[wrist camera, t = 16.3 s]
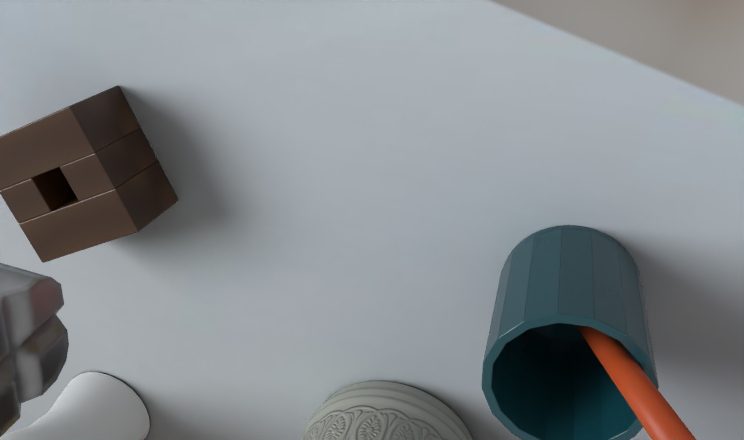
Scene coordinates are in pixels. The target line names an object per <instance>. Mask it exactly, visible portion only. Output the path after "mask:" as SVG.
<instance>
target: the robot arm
mask: <svg viewBox="0 0 744 440" xmlns="http://www.w3.org/2000/svg"><path fill="white" fill-rule="evenodd" d="M63 305H64V301H63V295H62V289H61V284H60V283H58V282H57V281H56V280H54V279H53V278H51V277H48V276H44V275H41V274H37V273H34V272H30V271H27V270H23V269H20V268H16V267H13V266H9V265H6V264H2V263H0V437H1V436H2V435H3V434H4V433H5V432H6V431H7V430H8V429H9V428H10V427H11V426H12V425H13V424H14V423H15V422H16V421H17V420H18V419H19V418H20V412H21V403H23V402H25V401H28V400H30V399H33V398H36V397H38V396H41V395H43V394H44V393H45V392H46V391H47V389H48V388H49V387H50V386H51V385H52V384H53V383H54V382H55V381H56V380H57V378H58V376H59V374H60V372H61V370H62V368H63V366H64V364H65V362H66V358H67V352H68V346H69V343H68V333H67V329H66V328H65V326H64V325H63V324H62V322H61V321H60V320H59V318H58V317H57V315H56V314H57V312H58V311H59V310H60V309H61V307H62V306H63ZM673 440H676V439H673Z"/></svg>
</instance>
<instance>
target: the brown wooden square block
mask: <svg viewBox="0 0 744 440" xmlns="http://www.w3.org/2000/svg"><path fill="white" fill-rule="evenodd" d="M0 194H1V195H2V197H3V199H4V200H5V202H6V204H7V205H8V207H9V209H10V210H11V212H12V213H13V215H14V217H15V218H16V220H17V222H18V223H20V224H19V225H20V227H21V228H22V230H23V231H24V233H25V235H26V236H27V238H28V240H29V241H30V243H31V245H32V246H33V248H34V250H35V251H36V253H37V254H38V256H39V258H40V259H41V261H42V262H47V261H50V260H53V259H56V258H59V257H62V256H65V255H68V254H71V253H74V252H78V251H81V250H84V249H87V248H90V247H93V246H96V245H99V244H102V243H105V242H108V241H111V240H114V239H117V238H120V237H123V236H127V235H130V234H133V233H136V232H139V231H140V230H141V229H143V228H144V227H145V226H146V225H148V224H149V223H150V222H151V221H153V220H154V219H155V218H157V217H158V216H159V215H160V214H162V213H163V212H164V211H165V210H167V209H168V208H169V207H171V206H172V205H173V204H174V203H176V202H177V201H178V198H177V196H176V195H175V193H174V191H173V189H172V187H171V185H170V183H169V181H168V179H167V177H166V176H165V174H164V172H163V170H162V168H161V166H160V164H159V162H158V161H157V158H156V156H155V154H154V152H153V150H152V149H151V147H150V145H149V143H148V141H147V139H146V137H145V135H144V133H143V131H142V130H141V128H140V126H139V124H138V122H137V120H136V118H135V116H134V114H133V112H132V110H131V109H130V107H129V105H128V103H127V101H126V99H125V97H124V95H123V93H122V91H121V89H120V88H119V86H115V87H113V88H110V89H108V90H106V91H103V92H101V93H99V94H96V95H94V96H92V97H90V98H87V99H85V100H83V101H80V102H78V103H76V104H73V105H71V106H69V107H66V108H64V109H62V110H60V111H57V112H55V113H53V114H50V115H48V116H46V117H43V118H41V119H39V120H37V121H34V122H32V123H30V124H27V125H25V126H23V127H21V128H18V129H16V130H14V131H11V132H9V133H7V134H5V135H2V136H0Z"/></svg>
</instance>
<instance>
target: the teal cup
mask: <svg viewBox="0 0 744 440" xmlns="http://www.w3.org/2000/svg"><path fill="white" fill-rule="evenodd" d="M576 325H580V326H587V327H592V328H594V329H596V330H598V331H600V332H602V333H604V334H606V335H609V336H611V337H613V338H615V339H617V340H619V341H620V342H621V343H622V344H623V345H624V347H625V348H626V349H627V351H628V352H629V353H630V354H631V356H632V357H633V358H634V360H635V361H636V362H637V363H638V365H639V366H640V367H641V369H642V370H643V371H644V373H645V374H646V375H647V376H648V378H649V379H650V380H651V382H652V383H653V384H654V386H655V387H656V388H657V389H658V388H659V385H658V379H657V373H656V366H655V360H654V354H653V348H652V341H651V335H650V329H649V323H648V317H647V310H646V304H645V298H644V292H643V286H642V283H641V280H640V275H639V271H638V268H637V266H636V263H635V262H634V260H633V258H632V257H631V255H630V254H629V253H628V251H627V250H626V249H625V248H624V247H623V246H622V245H621V244H620V243H618V242H617V241H616V240H614V239H613V238H611V237H610V236H608V235H606V234H604V233H602V232H599V231H597V230H594V229H591V228H587V227H581V226H570V225H565V226H556V227H550V228H547V229H544V230H540V231H538V232H536V233H534V234H532V235H530V236H528V237H527V238H525V239H524V240H523V241H521V242H520V243H519V244H518V245H517V246H516V247H515V248H514V249H513V250H512V252H511V253H510V255H509V256H508V258H507V260H506V262H505V264H504V267H503V269H502V272H501V276H500V281H499V286H498V291H497V296H496V301H495V306H494V311H493V316H492V321H491V326H490V331H489V336H488V341H487V346H486V351H485V356H484V361H483V373H482V390H483V392H484V394H485V397H486V399H487V402H488V404H489V406H490V409H491V411H492V413H493V414H494V415H495V416H496V417H497V418H498V419H499V420H500V421H501V422H502V423H503V424H504V426H505V427H506V428H507V429H508V430H509V431H510V432H511V433H512V434H514V435H515V436H517V437H519V438H521V439H523V440H629V439H631V438H633V437H634V436H636V434H637V433H638V432H639V431H640V430H641V428H642V427H643V425H642V424H641V422H640V421H639V419H638V418H637V416H636V415H635V413H634V412H633V410H632V409H631V407H630V406H629V404H628V403H627V401H626V400H625V398H624V397H623V395H622V394H621V392H620V391H619V389H618V388H617V386H616V385H615V383H614V382H613V380H612V379H611V377H610V376H609V374H608V373H607V371H606V370H605V368H604V367H603V365H602V364H601V362H600V361H599V359H598V358H597V356H596V355H595V353H594V352H593V350H592V349H591V347H590V346H589V344H588V343H587V341H586V340H585V338H584V337H583V335H582V334H581V332H580V331H579V329H578V328H577V326H576Z"/></svg>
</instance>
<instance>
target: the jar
mask: <svg viewBox="0 0 744 440" xmlns="http://www.w3.org/2000/svg"><path fill="white" fill-rule="evenodd" d="M301 440H473V439H472V437H471V435H470V433H469V431H468V429H467V428H466V426H465V425H464V424H463V422H462V421H461V420H460V419H459V417H458V416H457V415H456V414H455V413H454V412H453V411H452V410H451V409H449V408H448V407H447V406H446V405H444V404H443V403H442V402H440V401H439V400H437V399H436V398H434V397H433V396H431V395H429V394H427V393H425V392H423V391H421V390H418V389H416V388H413V387H410V386H407V385H403V384H399V383H393V382H385V381H369V382H362V383H357V384H353V385H350V386H347V387H345V388H343V389H341V390H339V391H337V392H335V393H334V394H333V395H331V396H330V397H329V398H328V399H327V400H326V401H325V402H324V403H323V405H322V406H320V407H319V408H318V410H317V411H316V412H315V413H314V414H313V416H312V417H311V419H310V421H309V423H308V425H307V427H306V428H305V430H304V433H303V436H302V439H301Z"/></svg>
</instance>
